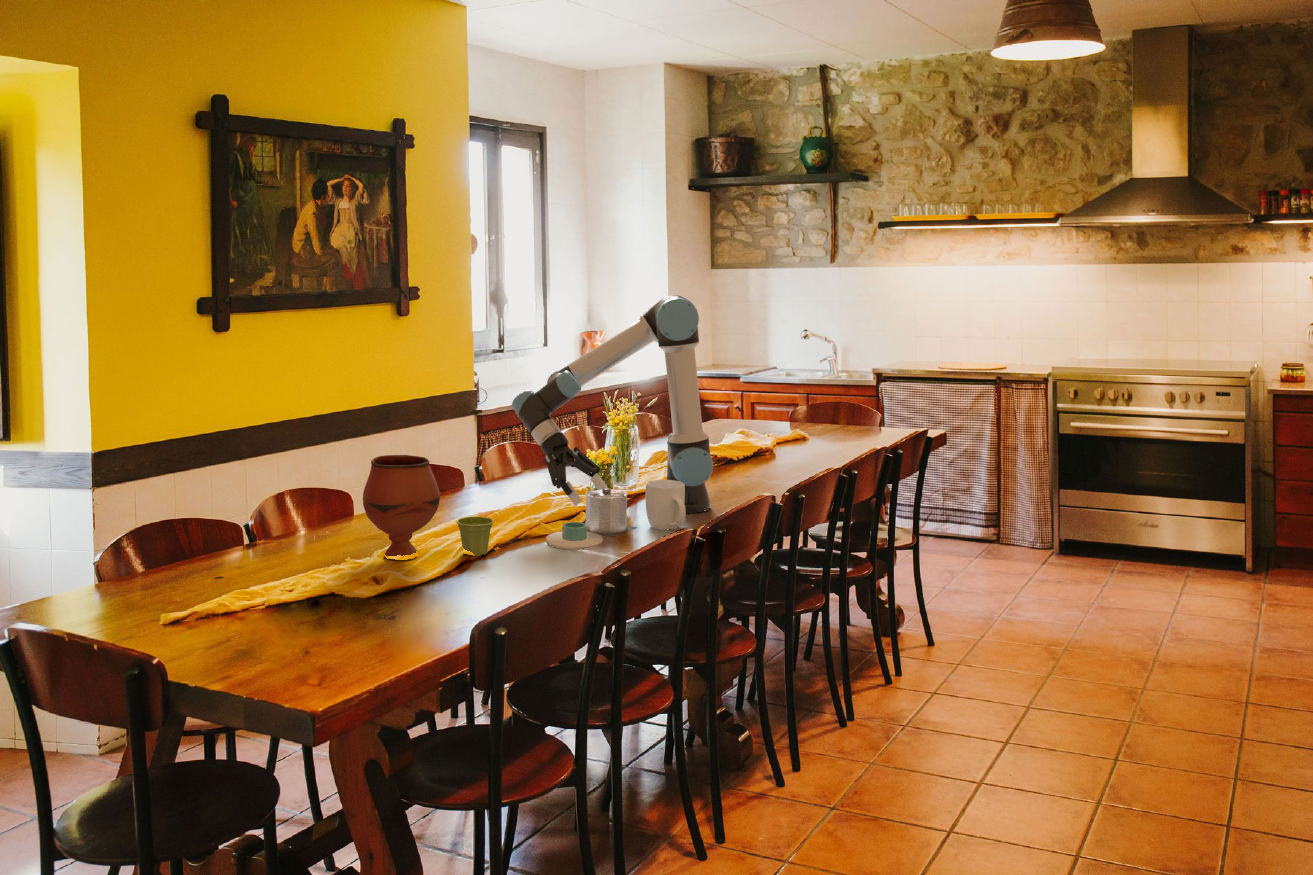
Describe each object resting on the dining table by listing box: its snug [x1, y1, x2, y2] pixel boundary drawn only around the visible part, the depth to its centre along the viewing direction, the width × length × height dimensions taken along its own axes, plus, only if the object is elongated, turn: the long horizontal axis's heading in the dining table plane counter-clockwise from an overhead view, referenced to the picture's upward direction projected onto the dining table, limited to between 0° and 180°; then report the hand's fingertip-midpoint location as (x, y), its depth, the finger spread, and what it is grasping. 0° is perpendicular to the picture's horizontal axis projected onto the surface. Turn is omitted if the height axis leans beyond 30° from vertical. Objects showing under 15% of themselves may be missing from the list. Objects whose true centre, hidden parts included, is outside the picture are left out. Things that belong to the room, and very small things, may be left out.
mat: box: [587, 524, 638, 538], centre depth 322 cm, size 13×13×1 cm
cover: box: [584, 487, 628, 534], centre depth 321 cm, size 11×11×11 cm
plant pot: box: [456, 516, 495, 557], centre depth 296 cm, size 9×9×9 cm
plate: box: [545, 521, 604, 551], centre depth 309 cm, size 15×15×5 cm
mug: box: [645, 479, 687, 531], centre depth 323 cm, size 15×11×13 cm
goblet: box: [362, 454, 441, 556], centre depth 290 cm, size 19×19×25 cm
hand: (593, 498), depth 322 cm, fingers open, 13 cm apart
